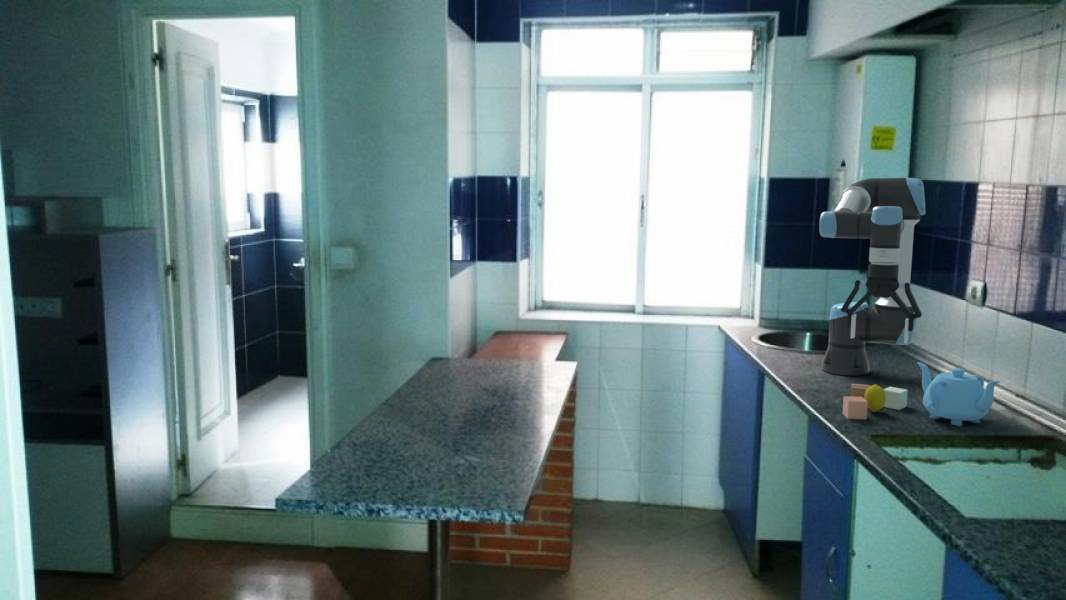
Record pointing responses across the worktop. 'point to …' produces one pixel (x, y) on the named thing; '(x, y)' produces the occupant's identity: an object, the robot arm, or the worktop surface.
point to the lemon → (875, 397)
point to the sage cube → (895, 398)
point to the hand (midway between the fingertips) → (878, 340)
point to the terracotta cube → (854, 407)
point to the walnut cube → (858, 390)
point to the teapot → (956, 395)
